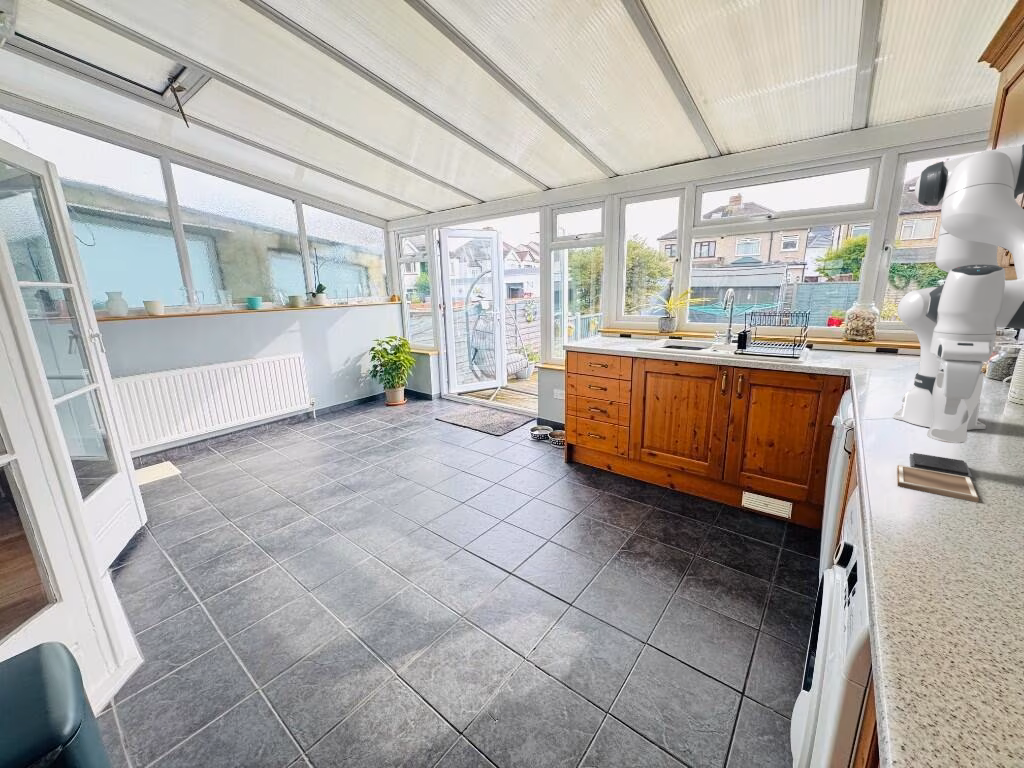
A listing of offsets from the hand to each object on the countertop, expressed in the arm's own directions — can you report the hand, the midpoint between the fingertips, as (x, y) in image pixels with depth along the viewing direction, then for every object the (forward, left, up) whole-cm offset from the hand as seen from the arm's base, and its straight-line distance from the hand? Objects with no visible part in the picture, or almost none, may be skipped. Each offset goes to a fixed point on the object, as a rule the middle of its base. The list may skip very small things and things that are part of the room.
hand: (947, 409), depth 88 cm
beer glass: (0, +1, -7) cm, 7 cm away
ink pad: (+1, 0, -13) cm, 13 cm away
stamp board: (+11, -1, -13) cm, 17 cm away
